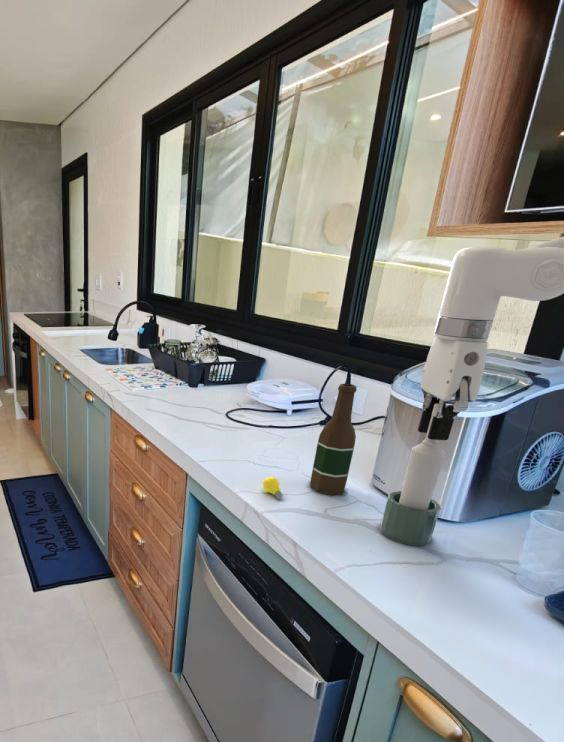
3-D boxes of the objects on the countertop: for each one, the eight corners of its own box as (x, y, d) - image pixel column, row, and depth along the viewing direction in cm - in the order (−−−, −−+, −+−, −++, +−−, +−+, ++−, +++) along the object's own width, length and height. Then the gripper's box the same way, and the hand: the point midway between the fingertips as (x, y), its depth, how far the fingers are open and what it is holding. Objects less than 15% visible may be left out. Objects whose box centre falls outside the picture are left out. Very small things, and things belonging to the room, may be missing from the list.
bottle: (394, 522, 99) (427, 399, 90) (423, 531, 96) (461, 405, 87) (387, 532, 96) (421, 405, 86) (418, 541, 92) (456, 411, 83)
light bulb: (268, 486, 114) (277, 474, 112) (282, 504, 110) (291, 492, 108) (257, 484, 113) (265, 472, 111) (270, 502, 108) (279, 490, 106)
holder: (417, 524, 100) (426, 492, 97) (438, 547, 92) (449, 513, 89) (373, 521, 100) (381, 489, 98) (391, 543, 93) (400, 510, 90)
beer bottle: (302, 486, 115) (320, 383, 106) (320, 478, 119) (340, 379, 111) (333, 499, 109) (356, 391, 100) (352, 490, 114) (375, 386, 105)
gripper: (518, 337, 74) (481, 453, 81) (459, 324, 89) (431, 423, 96) (465, 335, 75) (432, 451, 81) (415, 322, 90) (391, 420, 97)
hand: (432, 434), depth 89 cm, fingers closed
